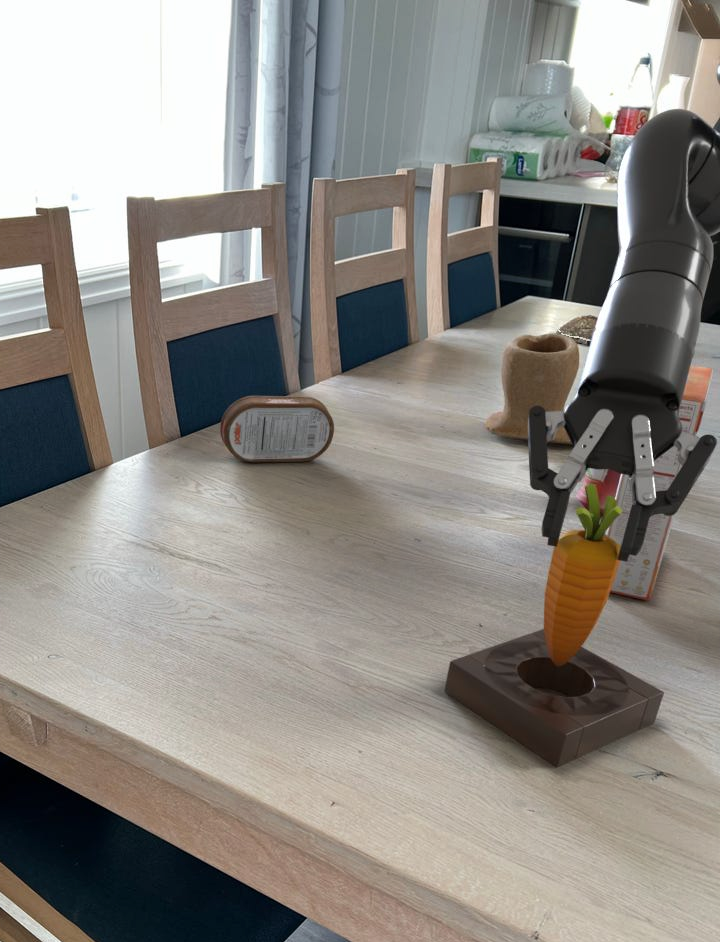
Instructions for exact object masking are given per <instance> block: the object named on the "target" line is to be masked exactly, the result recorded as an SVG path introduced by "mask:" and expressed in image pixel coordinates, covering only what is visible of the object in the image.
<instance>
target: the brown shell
mask: <svg viewBox="0 0 720 942" xmlns="http://www.w3.org/2000/svg"><path fill="white" fill-rule="evenodd" d="M597 318H598V316H595V315H592V314H588V315H581V316H576V317H575V318H573V319H571V320H570V321H567V322H566V323H565V324H563V325H562V326H560V327H559V328H560V329H559V328H558V329H559V330H560V331H561V332H559V331H558V329H557V330H556V332H555V334H559V335H562V334H561V333H563V334H567V335H570V336H579V337H583V338H586V339H590V340H591V338H592V335H593V332H594V329H595V325H596V322H597ZM563 336H566V335H563ZM567 337H569V336H567ZM569 338H571V339H573V340H574V341H575V342H576V343H577V344H581V345H584V346H590V342H591V341H586V340H583V339H580V338H574V337H569Z"/></svg>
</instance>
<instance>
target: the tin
mask: <svg viewBox="0 0 720 942" xmlns="http://www.w3.org/2000/svg"><path fill="white" fill-rule="evenodd" d="M334 423H335V422H334V420H333V417H332V415H331V413H330V411H329V410H328V407H326V405H325V404H324V403H323V402H321V401H320V400H319V399H317V398H315V397H311V396H305V395H304V396H303V395H302V396H296V395H295V396H292V395H290V396H289V395H288V396H285V395H283V396H282V395H280V396H279V395H247V396H244V397H242V398H239V399H237V400H236V401H234V402H233V403H232V404H231V405H229V406H228V407H227V409H225V412H224V413H223V416H222V417H221V421H220V426H219V433H220V437H221V440H222V442H223V444H224V445H225V447H226V448H227V450H228V451H229V452H230V454H232V456H234V458H236V459H238V460H240V461H243V462H246V463H307V462H310V461H314V460H316V459H317V458H319V457H320V456H322V455H323V454H324V453H325V452H326V451H327V450H328V449H329V447H330V445H331V443H332V441H333V438H334V433H335V424H334Z"/></svg>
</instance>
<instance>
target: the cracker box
mask: <svg viewBox="0 0 720 942" xmlns="http://www.w3.org/2000/svg"><path fill="white" fill-rule="evenodd" d="M713 373H714V369H713V368H710V367H705V366H696V365H692V364H691V365H690V369H689V373H688V377H687V381H686V385H685V389H684V393H683V397H682V401H681V406H680V410H679V419H680V421H681V424H682V430H683V431H686V432H688V433H690V434H693V435H695V436H697V437H698V434H699V432H700V428H701V424H702V421H703V416H704V414H705V413H704V412H705V409H706V405H707V402H708V398H709V397H708V396H709V392H710V388H711V383H712V377H713ZM678 455H679V450H678V448H677V447H676V446H673V447H672V448H671V449H669V450H668V451H667V452H665V453H664V454H663V455H661V456H660V457H659V458H657V459H656V460H655V461H653V464H654V486H655V491H664V490H668V488H669V487H670V485H671V483H672V482H673V480H674V479H675V477H676V476H677V474H678V472H679V471H680V469H681V468H682V465H681V464H680V463H679V462H678ZM615 500H616V506H618V507H620V508H621V509H622V513H621V514H620V515H619V516H618V517H617V518H616V519H615V520H614V521H613V522H612V524H611V525H610V526H609V528H608V529H607V530H606V533H605V534H606V535H608V536H609V537H610V538H611V539H613V540H614V541H615V542H617V543H618V544H619V546H620V547H621V543H622V539H623V535H624V531H625V527H626V523H627V519H628V516H629V513H630V510H631V507H632V495H631V491H630V488H629V479H628V475H625V474H621V477H620V480H619V484H618V488H617V493H616V497H615ZM616 506H615V507H616ZM675 516H676V513H675V514H674V515H672V516H666V515H664V514H656V515H653V516H651V517H650V518H649V522H648V526H647V530H646V534H645V538H644V542H643V545H642V548H641V550H640V552H639V553H638V554H637V555H636V556H634V555H629V558H628V560H627V562H625V561H620V563H619V566H618V570H617V573H616V576H615V579H614V582H613V585H612V588H611V591H610V593H612V594H616V595H620V596H625V597H629V598H634V599H639V600H643V601H650V600H651V596H652V594H653V591H654V587H655V584H656V580H657V577H658V574H659V570H660V567H661V564H662V559H663V557H664V554H665V550H666V547H667V543H668V541H669V537H670V534H671V533H670V532H671V530H672V525H673V522H674V519H675Z"/></svg>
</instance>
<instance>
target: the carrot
mask: <svg viewBox="0 0 720 942" xmlns="http://www.w3.org/2000/svg"><path fill="white" fill-rule="evenodd" d="M585 491H586V497H587V501H588V506H589V511H590V512H589V511H588V510H586V509H585V508H584V507H577V508H575V510H574V511H575V514H576V515H577V517H578V519H579V521H580V523H581V525H582V527H583V529H570V530H568V531H566V532H565V533H563V535H562V536H561V537H559V540H558V544H557V547H554V546H553V550H552V554H551V559H550V565H549V570H548V573H547V578H546V580H547V581H546V586H545V592H544V602H543V603H544V604H543V629H544V633H545V639H546V644H547V647H548V651H549V654H550V657H551V660H552V661H553V662H554V664H555V665H556V666H561V665H564V664H566V663H567V662H568V661H569V660H570V659H571V658H572V657H573V656H574V655H575V654H576V653H577V651H578V650H579V649H580V647H583V646H584V643H585V642H587V641H586V640H587V639H588V638H589V636H590V635H591V634H592V632H593V630H594V628H595V626H596V625H597V623H598V621H599V618H600V616H601V614H602V612H603V610H604V608H605V606H606V604H607V602H608V600H609V596H610V593H611V592H610V591H611V588H612V585H613V582H614V579H615V576H616V573H617V570H618V566H619V563H620V560H617V558H618V554H619V551H620V546H619V544H618V543H617V542H615V541H614V540H613V539H611V538H610V537H609V536H608V535H606V534H607V530H608V528H609V526H610V525H611V524H612V522H613V521H614V520H615V519H616V518H617V517H618V516H619V515H620V514H621V513H622V509H621V508H620V507H618V506H616V500H615V499H614V498H613V497H612V496H607V497H606V502H605V507H604V513H603V516H602V515H600V505H599V498H598V493H597V489H596V485H595V484H588V485H586V486H585ZM615 506H616V507H615Z"/></svg>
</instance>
